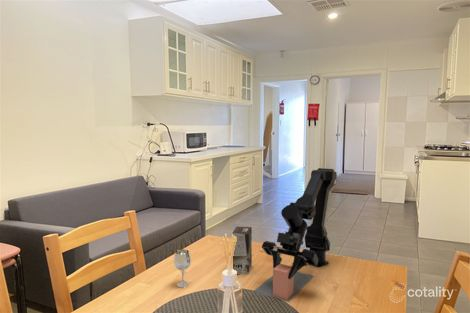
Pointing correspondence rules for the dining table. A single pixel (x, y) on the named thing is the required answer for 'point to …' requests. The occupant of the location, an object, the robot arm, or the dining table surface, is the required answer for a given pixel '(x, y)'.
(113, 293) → the dining table surface
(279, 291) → the red block
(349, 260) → the dining table surface
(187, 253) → the wineglass
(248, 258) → the coffee box
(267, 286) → the mat
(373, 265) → the dining table surface
